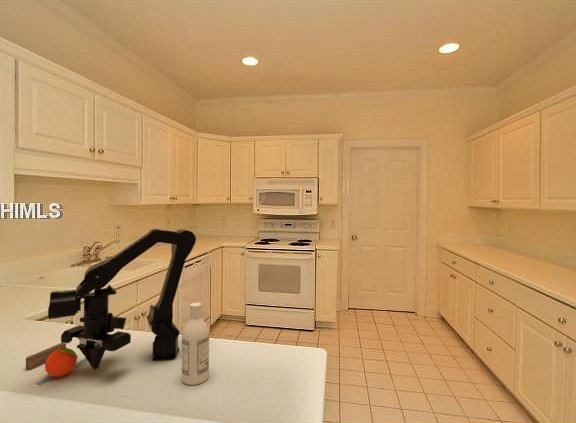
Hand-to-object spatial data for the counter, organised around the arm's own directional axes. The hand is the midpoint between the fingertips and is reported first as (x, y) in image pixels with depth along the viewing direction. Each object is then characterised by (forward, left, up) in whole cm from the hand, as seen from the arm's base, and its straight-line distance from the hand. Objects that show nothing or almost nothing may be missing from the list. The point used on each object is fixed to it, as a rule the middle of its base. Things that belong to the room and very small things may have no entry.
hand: (95, 368), depth 82 cm
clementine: (+8, 0, -1) cm, 8 cm away
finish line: (+8, -4, -1) cm, 9 cm away
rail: (+17, -8, -1) cm, 19 cm away
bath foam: (-28, +6, -2) cm, 28 cm away
